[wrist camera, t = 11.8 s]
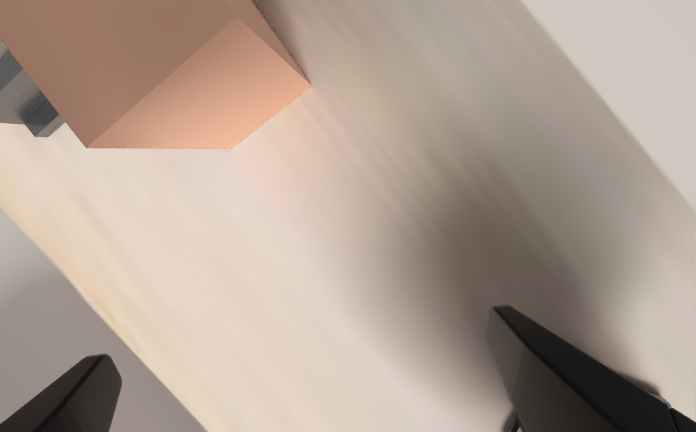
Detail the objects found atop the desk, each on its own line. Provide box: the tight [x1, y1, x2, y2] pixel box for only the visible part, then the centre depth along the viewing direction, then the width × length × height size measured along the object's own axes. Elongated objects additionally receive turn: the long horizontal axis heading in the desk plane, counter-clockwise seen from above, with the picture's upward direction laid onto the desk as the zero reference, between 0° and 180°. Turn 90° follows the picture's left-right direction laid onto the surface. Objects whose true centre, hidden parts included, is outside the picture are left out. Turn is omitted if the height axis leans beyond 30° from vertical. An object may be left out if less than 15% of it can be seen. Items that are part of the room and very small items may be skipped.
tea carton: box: [0, 0, 312, 149], centre depth 14 cm, size 6×6×10 cm
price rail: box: [0, 50, 65, 137], centre depth 17 cm, size 2×16×4 cm, turn 126°
